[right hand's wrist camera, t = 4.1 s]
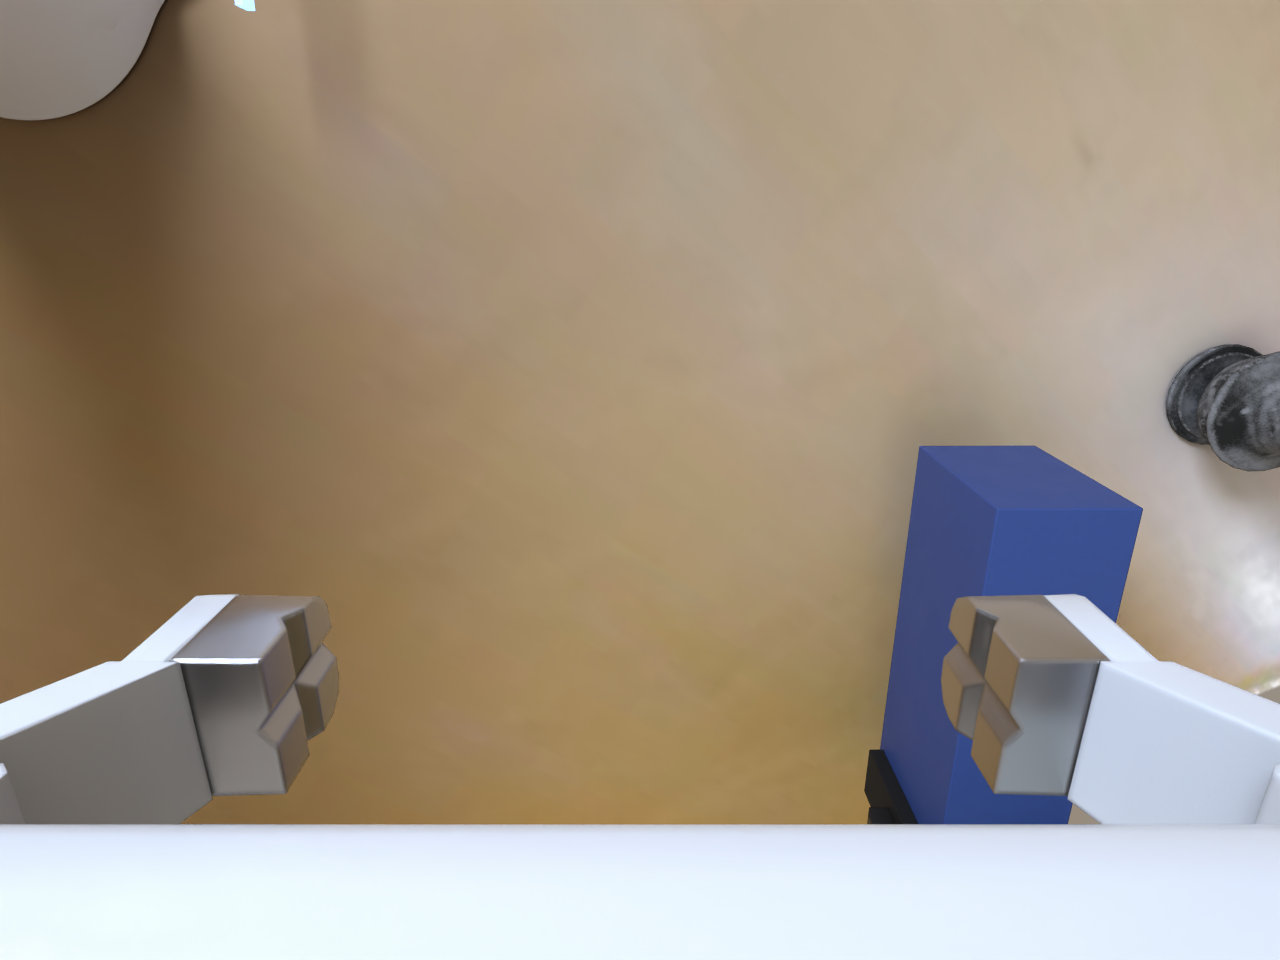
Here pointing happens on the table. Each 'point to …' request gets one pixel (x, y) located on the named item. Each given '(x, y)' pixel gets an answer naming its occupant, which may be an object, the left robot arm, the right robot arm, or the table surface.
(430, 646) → the table surface
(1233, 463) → the chess piece
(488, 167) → the table surface
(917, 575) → the bar
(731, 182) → the table surface
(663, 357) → the table surface
